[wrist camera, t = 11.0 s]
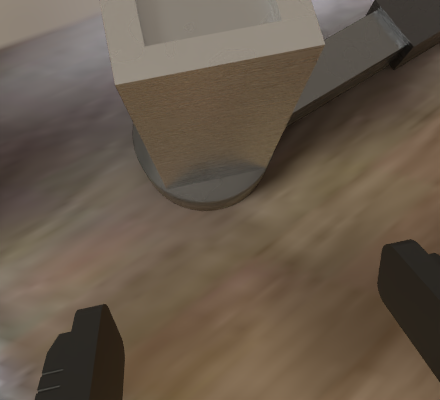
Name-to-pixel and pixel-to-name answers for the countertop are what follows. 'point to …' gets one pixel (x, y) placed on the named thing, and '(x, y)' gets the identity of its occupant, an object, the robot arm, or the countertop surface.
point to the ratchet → (324, 85)
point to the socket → (210, 78)
